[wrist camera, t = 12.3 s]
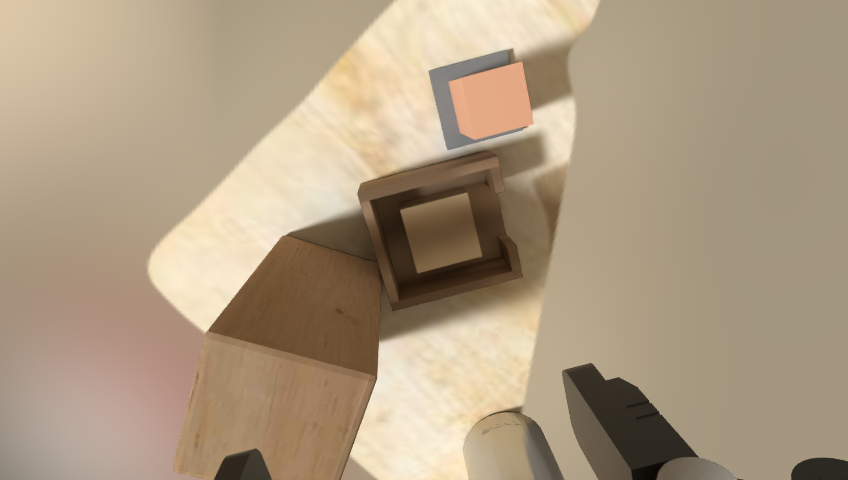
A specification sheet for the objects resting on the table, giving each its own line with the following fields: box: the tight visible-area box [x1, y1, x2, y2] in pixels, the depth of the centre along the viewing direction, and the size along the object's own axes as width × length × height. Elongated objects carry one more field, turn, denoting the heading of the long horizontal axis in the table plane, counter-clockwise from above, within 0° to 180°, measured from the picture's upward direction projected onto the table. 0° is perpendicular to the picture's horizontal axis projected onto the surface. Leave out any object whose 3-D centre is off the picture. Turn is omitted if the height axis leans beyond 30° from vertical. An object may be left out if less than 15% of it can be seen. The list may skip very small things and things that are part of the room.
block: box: [448, 62, 534, 140], centre depth 39 cm, size 4×4×8 cm
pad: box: [429, 50, 522, 150], centre depth 43 cm, size 7×7×1 cm
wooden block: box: [173, 236, 382, 480], centre depth 38 cm, size 10×10×20 cm
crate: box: [357, 150, 523, 311], centre depth 44 cm, size 11×12×5 cm
